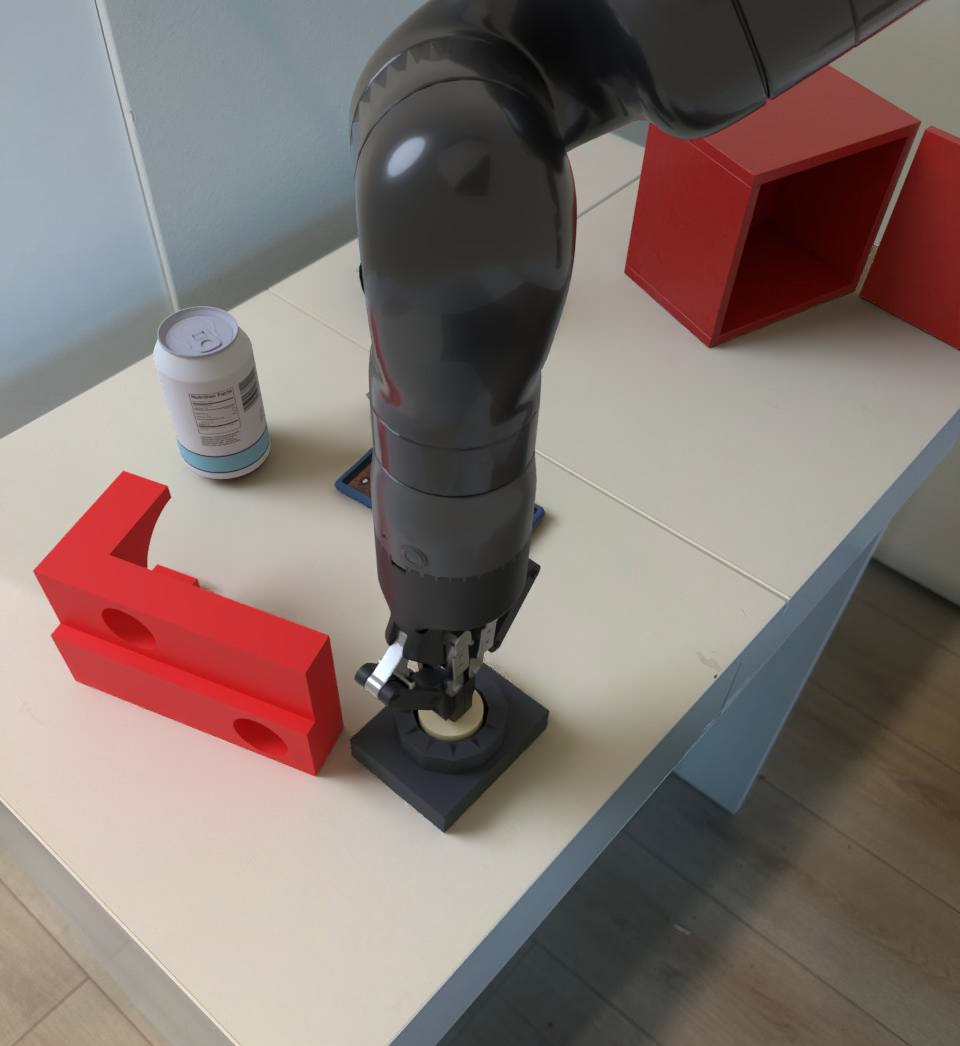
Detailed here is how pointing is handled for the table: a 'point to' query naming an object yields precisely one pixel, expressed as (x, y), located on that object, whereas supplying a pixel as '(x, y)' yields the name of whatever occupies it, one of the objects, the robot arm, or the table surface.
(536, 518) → the smartphone
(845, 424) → the table surface
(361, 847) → the table surface
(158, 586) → the bracket
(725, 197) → the red cabinet
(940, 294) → the door
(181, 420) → the beverage can
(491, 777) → the block
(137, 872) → the table surface
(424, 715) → the button
